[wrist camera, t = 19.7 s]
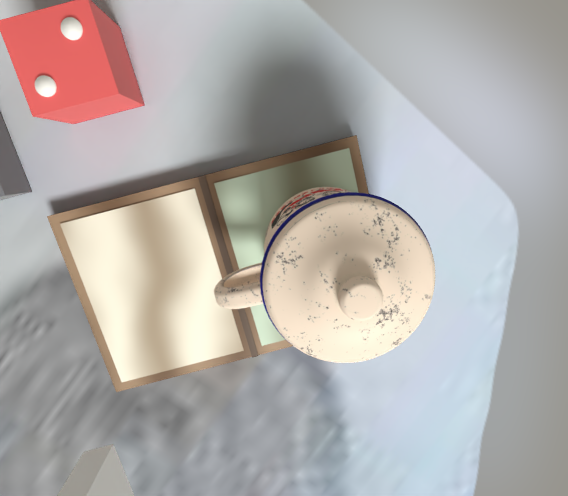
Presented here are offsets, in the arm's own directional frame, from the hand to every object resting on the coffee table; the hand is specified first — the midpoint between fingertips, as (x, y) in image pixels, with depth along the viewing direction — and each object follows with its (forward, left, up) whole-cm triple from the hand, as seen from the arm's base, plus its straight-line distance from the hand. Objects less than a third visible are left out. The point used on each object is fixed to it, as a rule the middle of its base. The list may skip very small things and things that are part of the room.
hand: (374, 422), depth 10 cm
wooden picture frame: (-5, 0, -20) cm, 21 cm away
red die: (-10, +15, -20) cm, 27 cm away
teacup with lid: (0, 0, -19) cm, 19 cm away
